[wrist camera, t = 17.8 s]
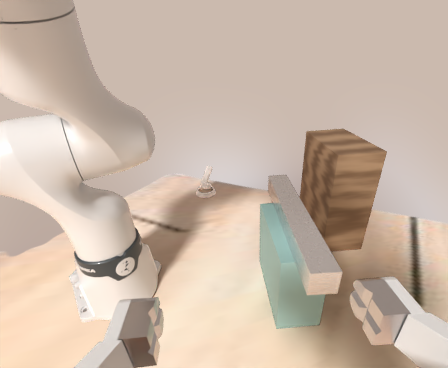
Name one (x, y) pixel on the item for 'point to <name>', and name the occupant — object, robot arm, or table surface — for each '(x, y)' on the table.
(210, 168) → the hook
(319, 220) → the stand
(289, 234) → the rail
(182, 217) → the table surface
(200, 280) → the table surface
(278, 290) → the mint green rectangular block
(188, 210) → the table surface
